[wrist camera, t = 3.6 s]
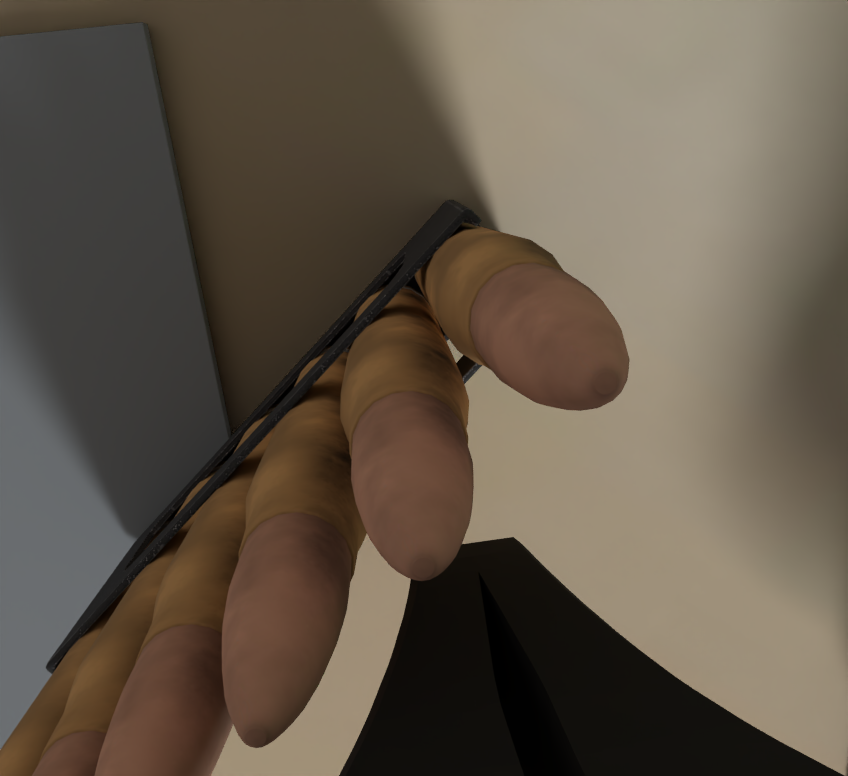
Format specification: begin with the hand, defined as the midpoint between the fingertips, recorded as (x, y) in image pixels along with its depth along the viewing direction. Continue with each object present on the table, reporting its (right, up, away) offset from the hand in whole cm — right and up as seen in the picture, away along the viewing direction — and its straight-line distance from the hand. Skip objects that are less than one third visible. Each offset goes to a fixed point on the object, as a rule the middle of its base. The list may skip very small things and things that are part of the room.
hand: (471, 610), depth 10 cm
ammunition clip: (-3, +2, +8) cm, 8 cm away
